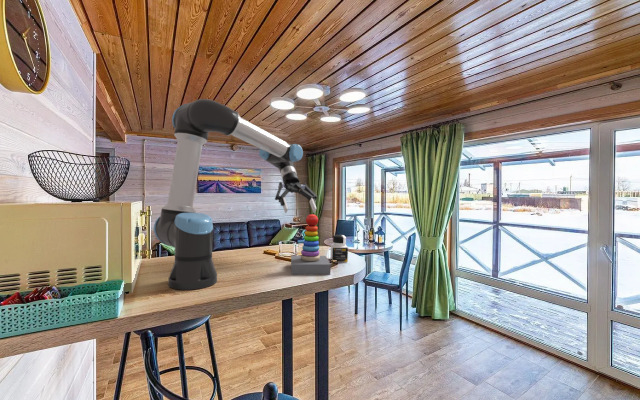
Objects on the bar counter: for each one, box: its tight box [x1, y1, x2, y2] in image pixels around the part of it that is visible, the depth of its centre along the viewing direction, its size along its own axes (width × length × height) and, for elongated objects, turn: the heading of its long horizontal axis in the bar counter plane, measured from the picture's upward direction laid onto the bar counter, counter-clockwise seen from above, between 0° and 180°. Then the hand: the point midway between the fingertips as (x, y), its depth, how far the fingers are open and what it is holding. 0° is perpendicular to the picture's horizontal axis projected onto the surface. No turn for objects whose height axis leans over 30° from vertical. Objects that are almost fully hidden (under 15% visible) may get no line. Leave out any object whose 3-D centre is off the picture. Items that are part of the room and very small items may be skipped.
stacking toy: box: [300, 213, 321, 261], centre depth 119 cm, size 8×8×19 cm
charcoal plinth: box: [290, 255, 332, 276], centre depth 119 cm, size 15×15×4 cm
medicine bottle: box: [330, 234, 349, 263], centre depth 136 cm, size 7×7×12 cm
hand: (301, 210), depth 128 cm, fingers open, 13 cm apart
